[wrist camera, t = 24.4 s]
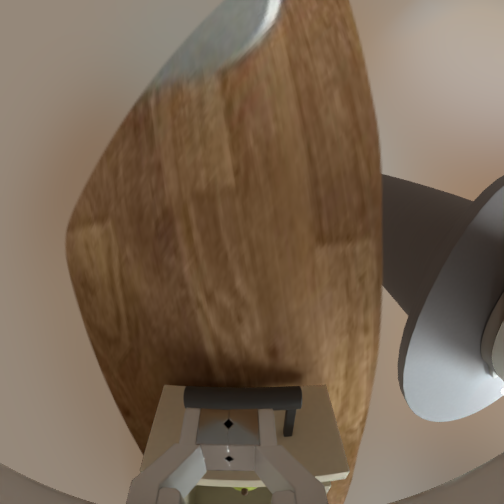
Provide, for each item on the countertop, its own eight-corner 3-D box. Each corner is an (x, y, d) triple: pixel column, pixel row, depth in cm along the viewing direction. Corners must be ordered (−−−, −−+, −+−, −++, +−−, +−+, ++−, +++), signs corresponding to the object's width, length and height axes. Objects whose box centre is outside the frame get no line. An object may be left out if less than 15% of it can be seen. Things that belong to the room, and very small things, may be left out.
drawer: (153, 339, 21) (116, 430, 13) (334, 339, 21) (370, 431, 13) (187, 461, 27) (178, 525, 19) (306, 461, 27) (316, 525, 19)
